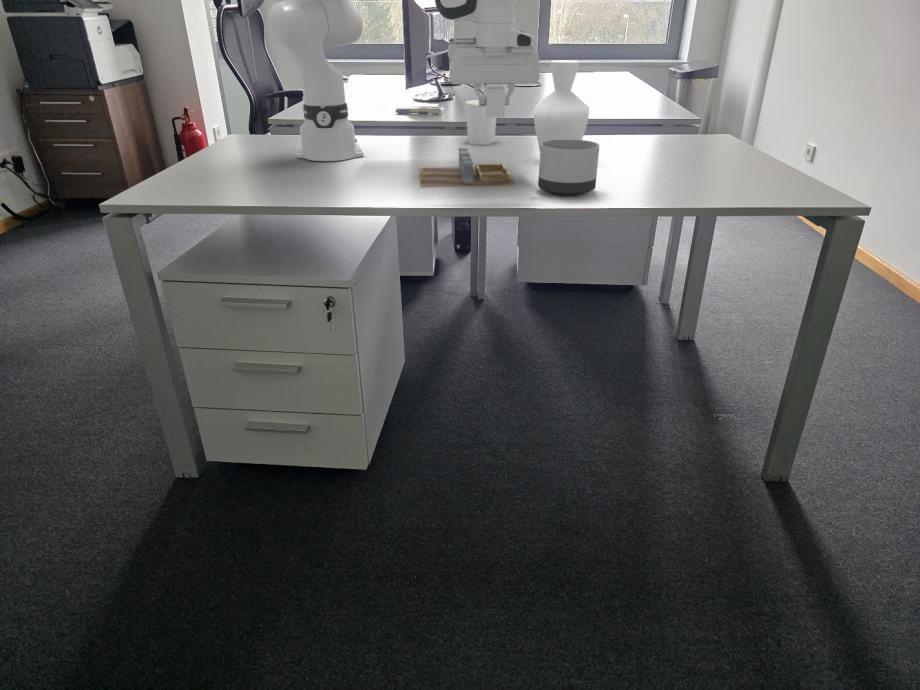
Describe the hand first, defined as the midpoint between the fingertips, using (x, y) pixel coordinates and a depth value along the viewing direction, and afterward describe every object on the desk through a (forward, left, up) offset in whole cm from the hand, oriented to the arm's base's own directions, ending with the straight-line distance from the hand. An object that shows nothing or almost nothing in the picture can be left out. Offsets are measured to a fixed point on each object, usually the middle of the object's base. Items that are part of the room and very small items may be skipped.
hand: (493, 105), depth 141 cm
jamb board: (0, -7, -17) cm, 18 cm away
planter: (+12, +15, -17) cm, 26 cm away
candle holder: (-50, +2, -17) cm, 53 cm away
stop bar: (0, 0, -2) cm, 2 cm away
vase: (-20, +20, -17) cm, 34 cm away
